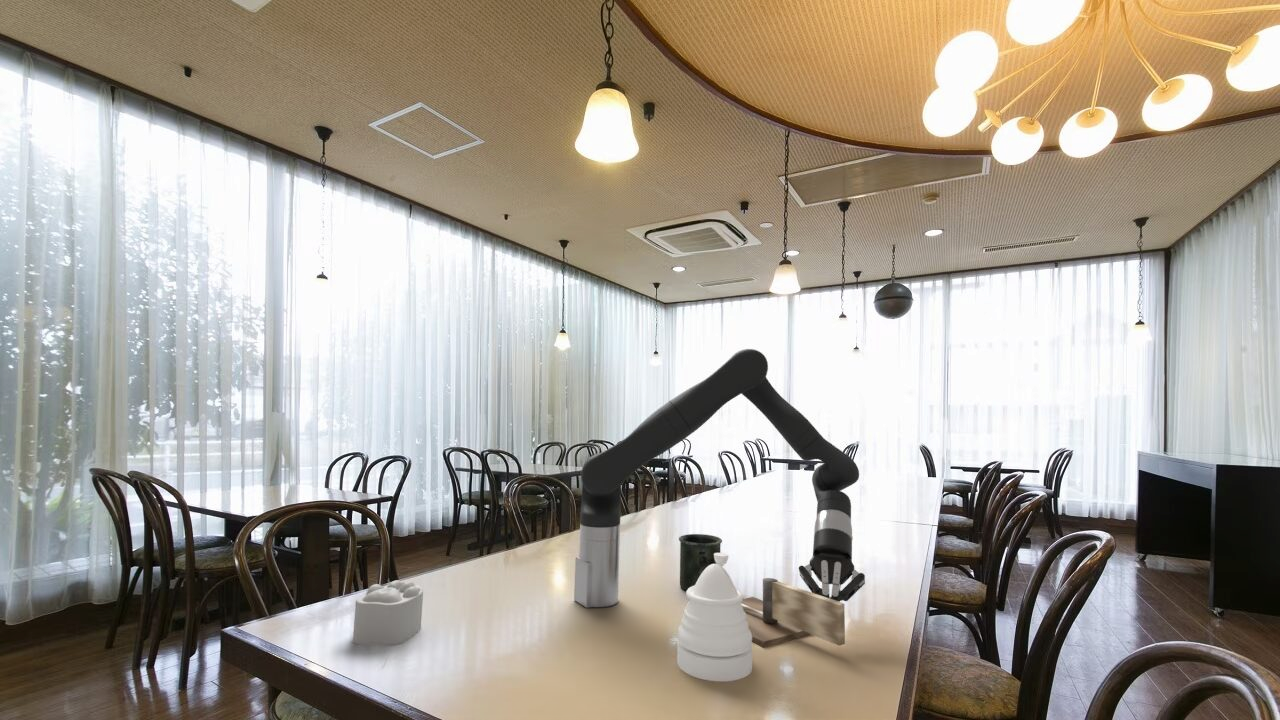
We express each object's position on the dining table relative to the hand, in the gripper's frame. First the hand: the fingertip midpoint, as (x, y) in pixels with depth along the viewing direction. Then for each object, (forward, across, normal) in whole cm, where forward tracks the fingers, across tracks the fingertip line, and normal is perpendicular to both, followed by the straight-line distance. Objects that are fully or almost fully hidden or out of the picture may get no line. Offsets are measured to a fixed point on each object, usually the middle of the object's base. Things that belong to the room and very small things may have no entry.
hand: (829, 618), depth 103 cm
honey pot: (+15, -18, -7) cm, 24 cm away
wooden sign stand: (-1, -15, +9) cm, 18 cm away
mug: (-12, -32, +20) cm, 40 cm away
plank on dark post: (0, -9, +6) cm, 11 cm away
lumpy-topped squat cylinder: (+24, -78, -17) cm, 83 cm away
